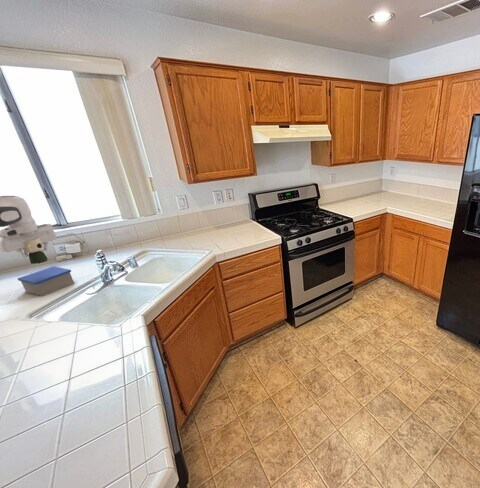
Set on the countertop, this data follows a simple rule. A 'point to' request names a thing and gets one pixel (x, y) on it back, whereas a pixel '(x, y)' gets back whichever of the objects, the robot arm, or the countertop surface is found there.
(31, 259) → the character mug
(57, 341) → the countertop surface
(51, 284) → the storage tub
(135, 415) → the countertop surface
